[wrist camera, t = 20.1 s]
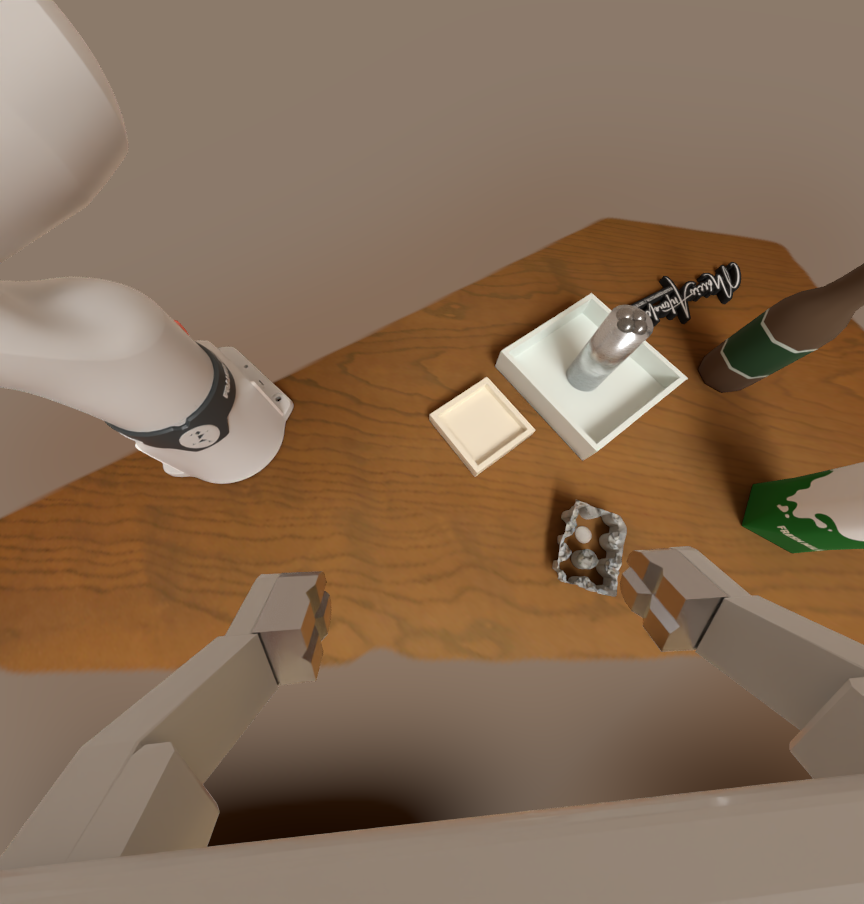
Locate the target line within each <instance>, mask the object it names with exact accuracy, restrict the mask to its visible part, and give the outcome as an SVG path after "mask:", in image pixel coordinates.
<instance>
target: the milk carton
mask: <svg viewBox="0 0 864 904" xmlns="http://www.w3.org/2000/svg"><path fill="white" fill-rule="evenodd" d="M742 526H743V527H745V528H747V529H749V530H750V531H752V532H754V533H756V534H758V535H760V536H761V537H763V538H765V539H767V540H769V541H770V542H772V543H774V544H776V545H778V546H780V547H781V548H783V549H785V550H787V551H789V552H790V553H800V552H812V551H823V550H840V549H864V462H862V463H858V464H853V465H849V466H845V467H840V468H836V469H832V470H827V471H823V472H818V473H814V474H810V475H805V476H801V477H796V478H790V479H783V480H777V481H771V482H764V483H758V484H753V486H752V489H751V493H750V497H749V500H748V504H747V508H746V512H745V515H744V519H743V523H742Z"/></svg>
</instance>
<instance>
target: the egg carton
mask: <svg viewBox="0 0 864 904" xmlns="http://www.w3.org/2000/svg"><path fill="white" fill-rule="evenodd" d="M578 513H579V514H580V515H581V517H583V518H584V519H593V518H597V517H599V516H602V519H603V522H604V523H605V524H606V525H607V526H609V527H610V529H609V533H606V534H603V535H601V537H600V538H599V543H600V546H601V547H602V548H603V549H604V550H605V551H606V552H607V554H606V559H600V560H598V558H597V557H596V554H595V553H594V552H593V551H591V550H589V549H584V550H578V551H575V552H573V553H572V551H571V550H570V549H569V547H568V546H567V544H566V543H564V539H565V538H566V537H568V536H570V535H572V534H573V532H574V531H575V536H576V539H577V540H578V541H579V542H581V543H588V542H589V541H590V539H591V537H592V535H591V532H590V530H589V529H588V528H587V527H584V526H580V527H578V528H577V529H576V530H575V528H576V527H577V524H576V518H577V516H578ZM561 519H562V520H563V521H564V522H565V523H566V529H565V533H564V535H558V544H559V545H560V549H559V557H558V560H556V561H555V560H554V561H553V569H554V570H556V572H557V573H558V575H559V577H558V579H559V580H560V581H562V582H565V583H570V584H576V585H578V586H580V587H583V588H585V589H586V590H589V591H593V592H597V593H599V594H604V595H608V596H615V597H616V595H617V577H618V574H619V572H618V571H619V568H620V567H621V565H622V553H623V545H624V541H625V537H626V533H627V528H626V525H625V523H624V522H623V520H622V518H621V517H620V516H619V515H616V514H614V513H611V512H607V511H605V510H603V509H599V508H595V507H592V506H589V504H587V503H584V502H581V501H579V500H576V503H575V506H572V507H571V508H570V510H567V511H564V512H563V513H562V516H561ZM571 554H572V555H571ZM570 555H571V562H572V564H573V565H574V566H575V567H576V568H579V569H591V568H593V567H595V566H596V570H597V572H598V573H599V574H600V575H601V576H602V577H603V585H596V586H595V584H594V583H593V582H591V581H590V579H589V578H588V577H585V576H583V577H579V576H572V577H570V578H569V579H568V581H566V574H565V573H564V571H563V570H561V569H559V563H560V561H564V560H567V558H568V557H569V556H570Z"/></svg>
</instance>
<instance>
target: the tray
mask: <svg viewBox="0 0 864 904" xmlns="http://www.w3.org/2000/svg"><path fill="white" fill-rule="evenodd" d="M429 421H430V422H431V423H432V424H433V426H434V427H435V428H436V429H437V431H438V432H439V433H440V434H441V436H442V437H443V438H444V439H445V441H446V442H447V443H448V444H449V446H450V447H451V448H452V449H453V451H454V452H455V453H456V454H457V456H458V457H459V458H460V459H461V461H462V462H463V463H464V464H465V465H466V467H467V468H468V469H469V470H470V472H471V473H472V474H473V475H474V477H476V476H477V475H478V474H480V473H481V472H482V471H484V470H485V469H487V468H488V467H489V466H491V465H492V464H493V463H495V462H496V461H497V460H499V459H500V458H501V457H503V456H504V455H505V454H507V453H508V452H509V451H511V450H512V449H514V448H515V447H516V446H518V445H519V444H520V443H522V442H523V441H524V440H526V439H527V438H528V437H530V436H531V435H532V434H533V433H534V432H535V429H534V428H533V427H532V426H531V425H530V424H529V422H528V421H527V420H526V419H525V418H524V417H523V416H522V415H521V414H520V413H519V411H518V410H517V409H516V408H515V407H514V406H513V405H512V404H511V403H510V402H509V400H508V399H507V398H506V397H505V396H504V395H503V394H502V393H501V392H500V391H499V389H498V388H497V387H496V386H495V385H494V384H493V383H492V382H491V381H490V379H489V378H488V377H486V378H484V379H483V380H481V381H480V382H478V383H477V384H475V385H474V386H472V387H471V388H469V389H468V390H466V391H465V392H463V393H462V394H460V395H458V396H457V397H455V398H454V399H452V400H451V401H449V402H448V403H446V404H445V405H443V406H442V407H440V408H439V409H437V410H436V411H434V412H432V413H431V414H430V415H429Z"/></svg>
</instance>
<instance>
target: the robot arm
mask: <svg viewBox="0 0 864 904" xmlns="http://www.w3.org/2000/svg"><path fill="white" fill-rule="evenodd" d="M128 148H129V145H128V138H127V132H126V128H125V124H124V121H123V117H122V113H121V110H120V108H119V106H118V103H117V100H116V98H115V95H114V93H113V90H112V89H111V86H110V84H109V82H108V80H107V78H106V77H105V75H104V73H103V71H102V69H101V67H100V66H99V64H98V62H97V60H96V58H95V57H94V55H93V54H92V52H91V51H90V49H89V48H88V46H87V45H86V43H85V42H84V40H83V39H82V37H81V36H80V34H79V33H78V32H77V30H76V29H75V28H74V26H73V25H72V24H71V22H70V21H69V20H68V18H67V17H66V16H65V15H64V13H63V12H62V11H61V10H60V9H59V7H58V6H57V5H56V4H55V2H54V1H53V0H0V263H2V262H4V261H5V260H7V259H8V258H9V257H11V256H13V255H14V254H16V253H17V252H18V251H20V250H22V249H23V248H25V247H26V246H27V245H29V244H31V243H32V242H34V241H35V240H37V239H38V238H40V237H41V236H43V235H44V234H46V233H47V232H49V231H50V230H52V229H53V228H55V227H56V226H58V225H59V224H61V223H62V222H64V221H65V220H67V219H68V218H70V217H72V216H73V215H74V214H76V213H78V212H79V211H81V210H82V209H84V208H85V207H87V206H88V205H89V203H90V202H91V201H92V200H93V199H94V197H95V196H96V195H97V194H98V193H99V191H100V190H101V189H102V188H103V187H104V185H105V184H106V183H107V181H109V179H110V178H111V176H112V175H113V174H114V172H115V171H116V169H117V168H118V167H119V165H120V164H121V162H122V161H123V159H124V158H125V157H126V156H127V154H128V150H129V149H128ZM0 387H2V388H9V389H14V390H19V391H23V392H28V393H31V394H35V395H38V396H41V397H44V398H47V399H50V400H53V401H56V402H58V403H61V404H64V405H67V406H69V407H72V408H74V409H77V410H80V411H82V412H85V413H87V414H90V415H92V416H94V417H97V418H99V419H101V420H104V421H105V422H106V423H107V425H109V426H110V427H111V428H112V429H114V430H116V431H118V432H119V433H120V434H122V435H124V436H125V437H127V438H129V439H132V440H134V441H135V442H136V444H135V447H136V448H137V449H138V450H140V451H142V452H143V453H145V454H147V455H149V456H151V457H153V458H155V459H157V460H159V461H161V462H162V463H163V467H164V470H165V472H166V473H168V474H170V475H172V476H176V477H186V476H193V477H197V478H199V479H202V480H204V481H208V482H212V483H220V484H223V483H233V482H237V481H241V480H244V479H246V478H249V477H251V476H253V475H254V474H256V473H258V472H259V471H260V470H262V469H263V468H264V467H265V466H267V465H268V464H269V463H270V461H271V460H272V459H273V458H274V456H275V455H276V454H277V452H278V450H279V448H280V446H281V444H282V441H283V437H284V429H285V423H286V420H287V419H288V417H289V415H290V414H291V412H292V409H293V406H294V405H293V402H292V400H291V399H289V398H288V397H287V396H286V395H285V394H284V393H283V392H282V391H281V390H280V389H279V388H278V387H277V386H276V385H275V384H273V383H272V382H271V381H270V380H269V379H268V378H267V377H266V376H265V375H264V374H263V373H261V371H260V370H259V369H257V368H256V367H255V366H254V365H253V364H252V363H251V362H250V361H249V360H248V359H247V358H246V357H245V356H244V355H242V354H241V353H240V352H239V351H238V350H237V349H236V348H234V347H219V348H217V347H216V346H214V345H213V344H212V343H211V342H210V341H205V340H199V341H194V340H193V339H192V338H191V337H190V336H189V334H188V333H187V331H186V330H185V328H184V327H183V326H182V325H181V324H180V323H179V322H178V321H176V320H173V319H172V318H170V316H169V315H168V314H167V313H166V312H165V311H164V310H163V309H161V307H159V305H158V304H156V303H155V302H154V301H153V300H152V299H150V298H149V297H147V296H146V295H144V294H143V293H141V292H139V291H137V290H135V289H133V288H131V287H129V286H126V285H124V284H121V283H117V282H114V281H109V280H104V279H96V278H89V277H60V278H51V279H44V280H36V281H5V280H0ZM278 399H281V400H280V401H278ZM627 563H628V565H629V567H630V568H628V569H627V570H626V571H625V572H624V573H623V574H622V577H621V581H620V587H621V593H622V596H623V598H624V600H625V602H626V604H627V605H628V606H629V608H630V609H631V611H633V612H634V613H636V614H638V615H639V616H641V617H642V618H643V627H644V629H645V630H646V631H647V633H648V634H649V635H650V637H651V638H652V639H653V641H654V642H655V643H656V645H657V646H658V648H659V649H660V650H661V652H665V651H684V650H696V651H695V652H696V653H698V654H699V655H700V656H702V657H703V658H704V659H706V660H707V661H708V662H710V663H711V664H713V665H714V666H715V667H717V668H718V669H719V670H720V671H722V672H723V673H724V674H726V675H727V676H728V677H730V678H731V679H733V680H734V681H735V682H736V683H738V684H739V685H740V686H742V687H743V688H745V689H746V690H747V691H749V692H750V693H751V694H753V695H754V696H755V697H757V698H758V699H759V700H761V701H762V702H763V703H765V704H766V705H767V706H769V707H770V708H771V709H773V710H774V711H775V712H777V713H778V714H779V715H781V716H782V717H783V718H785V719H786V720H787V721H789V722H790V723H791V724H793V725H794V726H795V727H797V728H798V729H799V730H801V731H800V732H799V733H798V734H797V735H796V737H795V738H794V739H793V740H792V741H791V742H790V751H791V753H792V754H793V755H794V756H795V758H796V759H797V760H798V761H799V762H800V763H801V765H802V766H803V767H804V768H805V769H806V770H807V772H808V773H809V774H810V775H811V777H812V778H813V779H809V780H801V781H792V782H782V783H774V784H764V785H757V786H748V787H738V788H729V789H721V790H711V791H702V792H693V793H685V794H675V795H667V796H658V797H649V798H640V799H631V800H622V801H613V802H604V803H595V804H586V805H577V806H568V807H560V808H551V809H542V810H534V811H524V812H515V813H506V814H497V815H488V816H479V817H471V818H462V819H453V820H444V821H435V822H426V823H417V824H408V825H399V826H390V827H381V828H373V829H364V830H355V831H346V832H337V833H328V834H319V835H310V836H301V837H292V838H283V839H274V840H266V841H257V842H248V843H239V844H230V845H221V846H212V847H207V845H208V842H209V839H210V837H211V834H212V831H213V828H214V826H215V822H216V820H217V817H218V814H219V809H218V806H217V803H216V802H215V800H214V799H213V798H212V797H211V795H210V794H209V792H208V791H207V790H206V788H205V787H204V786H203V784H204V782H205V781H206V780H207V779H208V777H209V776H210V775H211V773H212V772H213V771H214V770H215V768H216V767H217V766H218V765H219V763H220V762H221V761H222V759H223V758H224V757H225V756H226V754H227V753H228V752H229V750H230V749H231V748H232V747H233V745H234V744H235V743H236V741H237V740H238V739H239V738H240V736H241V735H242V734H243V732H244V731H245V730H246V729H247V727H248V726H249V725H250V724H251V722H252V721H253V720H254V719H255V717H256V716H257V715H258V714H259V712H260V711H261V710H262V708H263V707H264V706H265V704H266V703H267V702H268V700H269V699H270V698H271V697H272V695H273V694H274V693H275V692H276V691H277V689H278V685H287V684H296V683H305V682H313V681H316V680H317V676H318V672H319V668H320V664H321V660H322V656H323V648H322V644H321V641H322V640H323V639H324V638H325V636H326V635H327V634H328V631H329V626H330V620H331V600H330V595H329V594H328V593H327V592H326V591H324V590H325V586H326V583H327V581H326V578H325V574H324V572H297V573H282V574H262V575H260V576H259V577H258V578H257V579H256V580H255V582H254V584H253V586H252V587H251V589H250V591H249V593H248V595H247V597H246V598H245V600H244V602H243V604H242V606H241V607H240V609H239V611H238V613H237V615H236V616H235V618H234V620H233V622H232V624H231V626H230V627H229V629H228V631H227V633H226V635H225V636H220V637H217V638H216V639H214V640H213V641H212V642H211V643H209V644H208V645H207V646H206V647H204V648H203V649H202V650H201V651H199V652H198V653H197V654H196V655H195V656H193V657H192V658H191V659H190V660H188V661H187V662H186V663H185V664H183V665H182V666H181V667H180V668H178V669H177V670H176V671H175V672H174V673H172V674H171V675H170V676H169V677H167V678H166V679H165V680H164V681H163V682H161V683H160V684H159V685H158V686H156V687H155V688H154V689H153V690H151V691H150V692H149V693H148V694H146V695H145V696H144V697H143V698H141V699H140V700H139V701H138V702H136V703H135V704H134V705H133V706H132V707H130V708H129V709H128V710H126V711H125V712H124V713H123V714H122V715H120V716H119V717H118V718H117V719H116V720H114V721H113V722H112V723H110V724H109V725H108V726H107V727H105V728H104V729H103V730H102V731H100V732H99V733H98V734H97V735H96V736H94V737H93V738H92V739H91V740H90V741H88V742H87V743H86V744H84V745H83V746H82V747H81V748H80V749H79V751H78V752H77V753H76V755H75V756H74V758H73V759H72V760H71V761H70V763H69V764H68V765H67V767H66V768H65V770H64V771H63V772H62V774H61V775H60V776H59V778H58V779H57V780H56V782H55V783H54V785H53V786H52V787H51V789H50V790H49V791H48V793H47V794H46V796H45V797H44V798H43V799H42V801H41V802H40V804H39V805H38V806H37V808H36V809H35V810H34V812H33V813H32V814H31V816H30V817H29V818H28V820H27V821H26V823H25V824H24V825H23V827H22V828H21V829H20V831H19V832H18V833H17V835H16V836H15V837H14V839H13V840H12V841H11V843H10V844H9V846H8V847H7V848H6V850H5V851H4V853H3V854H2V855H1V856H0V904H864V645H863V644H860V643H858V642H856V641H854V640H852V639H850V638H847V637H845V636H843V635H841V634H839V633H837V632H835V631H832V630H830V629H828V628H826V627H824V626H822V625H820V624H817V623H815V622H813V621H811V620H809V619H807V618H805V617H802V616H800V615H798V614H796V613H794V612H792V611H790V610H787V609H785V608H783V607H781V606H779V605H777V604H775V603H772V602H770V601H768V600H766V599H764V598H762V597H760V596H751V595H750V594H749V593H747V592H746V591H745V590H744V589H743V588H742V587H740V586H739V585H738V584H737V583H736V582H734V581H733V580H732V579H731V578H730V577H729V576H727V575H726V574H725V573H724V572H723V571H721V570H720V569H719V568H718V567H717V566H716V565H714V564H713V563H712V562H711V561H710V560H708V559H707V558H706V557H705V556H704V555H703V554H701V553H700V552H699V551H698V550H696V549H694V548H692V547H690V546H685V547H672V548H659V549H646V550H633V551H632V552H631V553H630V554H629V556H628V559H627Z"/></svg>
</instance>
